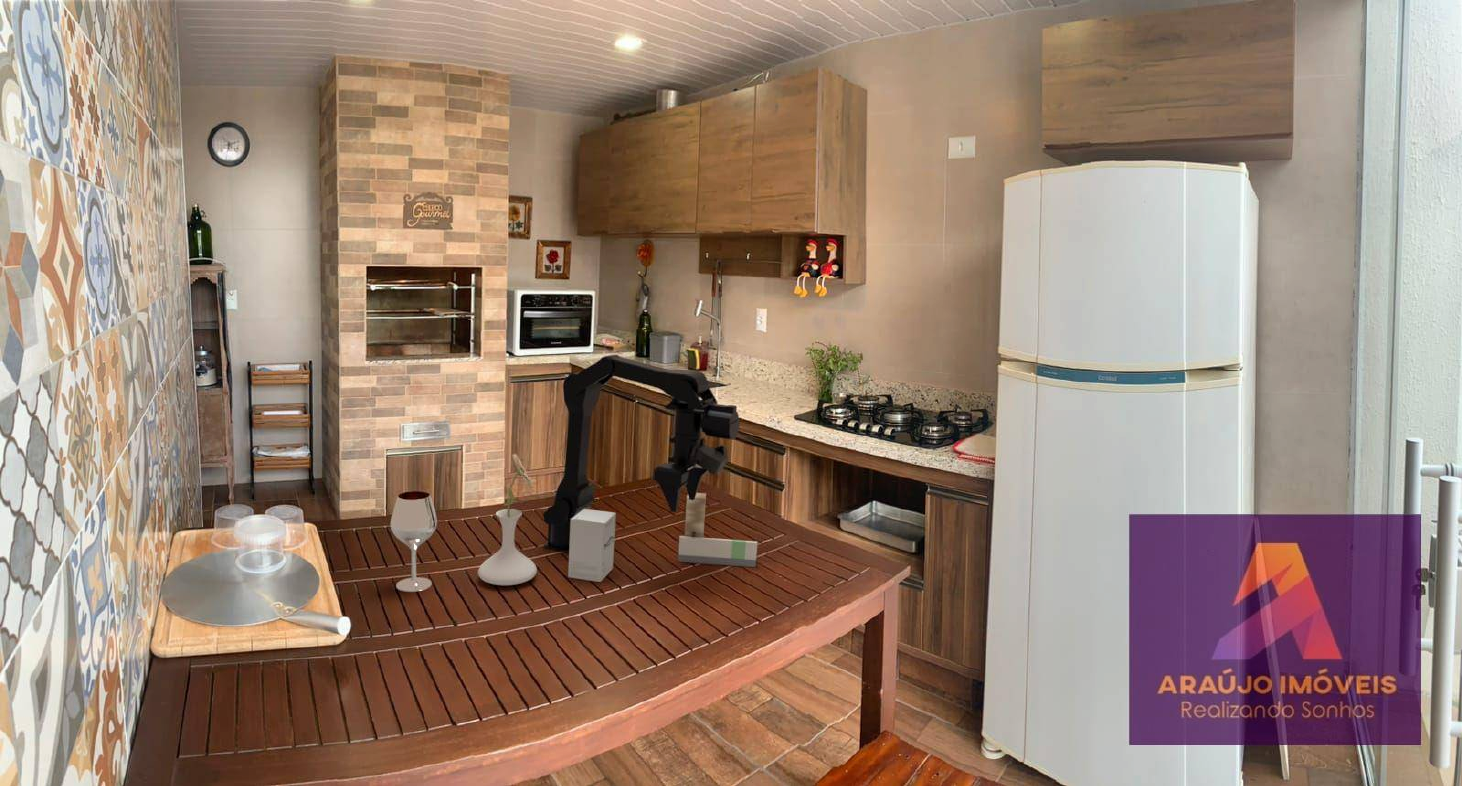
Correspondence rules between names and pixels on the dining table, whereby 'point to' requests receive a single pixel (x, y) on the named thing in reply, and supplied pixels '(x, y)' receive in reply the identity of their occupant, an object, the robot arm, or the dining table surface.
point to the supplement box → (591, 545)
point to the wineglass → (413, 530)
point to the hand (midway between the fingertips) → (683, 505)
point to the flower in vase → (509, 546)
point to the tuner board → (717, 551)
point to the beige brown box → (695, 516)
